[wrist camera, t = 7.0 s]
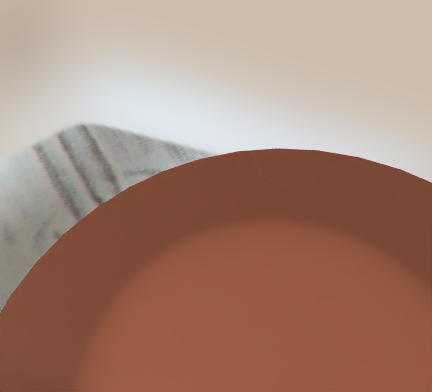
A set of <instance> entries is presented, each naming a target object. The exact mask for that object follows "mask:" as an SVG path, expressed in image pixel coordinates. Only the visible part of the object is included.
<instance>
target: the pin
mask: <svg viewBox="0 0 432 392" xmlns="http://www.w3.org/2000/svg"><path fill="white" fill-rule="evenodd" d="M0 392H432V183H431V182H429V181H426V180H424V179H422V178H419V177H417V176H414V175H412V174H410V173H407V172H405V171H403V170H400V169H397V168H393V167H390V166H387V165H383V164H380V163H376V162H373V161H369V160H366V159H363V158H359V157H353V156H348V155H341V154H336V153H329V152H324V151H318V150H297V149H296V150H295V149H266V150H252V151H238V152H233V153H228V154H223V155H218V156H213V157H208V158H203V159H199V160H196V161H193V162H190V163H187V164H184V165H181V166H178V167H175V168H172V169H169V170H166V171H163V172H161V173H159V174H157V175H155V176H152V177H150V178H148V179H146V180H144V181H142V182H140V183H138V184H135V185H133V186H131V187H129V188H128V189H126V190H124V191H123V192H121V193H120V194H118V195H116V196H115V197H113V198H112V199H110V200H108V201H107V202H105V203H104V204H102V205H101V206H99V207H97V208H96V209H95V210H93V211H92V212H91V213H90V214H88V215H87V216H86V217H85V218H83V219H82V220H81V221H80V222H79V223H77V224H76V225H75V226H74V227H72V228H71V229H70V230H69V231H67V232H66V233H65V234H64V235H63V236H62V237H61V238H60V239H59V240H58V241H57V242H56V243H55V244H54V245H53V246H52V247H51V248H50V249H49V250H48V251H47V252H46V253H45V255H44V256H43V257H42V258H41V259H40V260H39V261H38V262H37V263H36V264H35V265H34V267H33V268H32V269H31V271H30V272H29V273H28V274H27V276H26V277H25V278H24V280H23V281H22V282H21V283H20V285H19V286H18V287H17V289H16V290H15V291H14V292H13V294H12V295H11V297H10V298H9V300H8V301H7V303H6V305H5V306H4V308H3V310H2V311H1V313H0Z"/></svg>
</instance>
